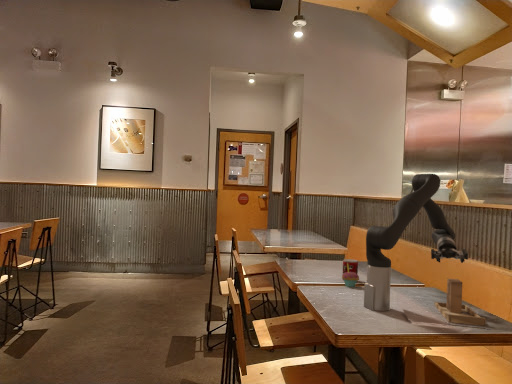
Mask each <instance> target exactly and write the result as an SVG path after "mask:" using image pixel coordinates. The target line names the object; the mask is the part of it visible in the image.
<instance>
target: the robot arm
mask: <svg viewBox="0 0 512 384" xmlns="http://www.w3.org/2000/svg"><path fill="white" fill-rule="evenodd" d="M440 186H441V178H440V177H439V176H438V174H437V173H436V174H435V173H418V174H415V175H414V176H413V177H412V180H411V187H412V190H413V191H411V192H410V193H407V194H406V195H404V196H402V197H401V198H400V199H399V200H397V202H396V204H394V206H393V209H392V217H393V221H392V222H391V224H390V225H388V226H383V225H382V226H381V225H380V226H379V225H371V226H370V227H369V228H368V229H367V230H366V234H365V256H366V257H365V258H366V261H367V263H366V264H367V265H366V266H367V268H366V270H367V271H366V282H364V285H363V287H364V289H363V307H364V308H367V309H369V310H371V311H380V312H385V311H389V310H390V308H391V307H390V305H391V277H392V261H391V259H390V258H388V257H387V256H386V255H384V254H383V252H382V250H384V251H389V250H392V249H393V248H395V246H396V245H397V244H398V242H399V240H400V238H401V236H402V235H403V232H404V231H405V230H406V228H407V227H408V226H409V224H410V223H411V222H412V220H413V219H414V218H415V217H416V216H417V215H418V213H419V212H420V211H421V209H422V207H423V208H424V210H425V212H426V214H427V217H428V220H429V223H430V226H431V227H432V228H433V231H432V232H431V236H430V237H431V239H432V241H433V243H434V244H435V245H436V246H437V250H436V249H434V248H430V249H431V250H430V256H431V257H430V258H431V260H436V262H438V263H441V260H443V259H455V260H459V262H460V263H461V264H463V263H465V260H469V253H468V251H467V250H466V249H465V248H463V249H462V250H458V248H457V246H456V242H455V239H456V233H455V230H454V229H453V228H452V227H451V225H449V223H448V221H447V219H446V215H445V213H444V211H443V210H442V208H441V206H439V205H438V203H436V202H435V201H434V200H433V199H432V197H433V196H435V194H436V193H438V191H439V189H440Z"/></svg>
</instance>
